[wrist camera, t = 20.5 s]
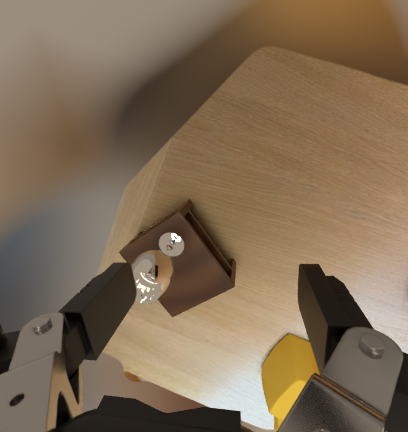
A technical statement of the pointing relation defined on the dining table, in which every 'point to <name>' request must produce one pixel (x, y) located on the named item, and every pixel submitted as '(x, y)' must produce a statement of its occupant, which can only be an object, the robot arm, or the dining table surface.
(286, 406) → the teapot
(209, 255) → the shelf
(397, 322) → the dining table surface
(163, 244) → the wineglass
